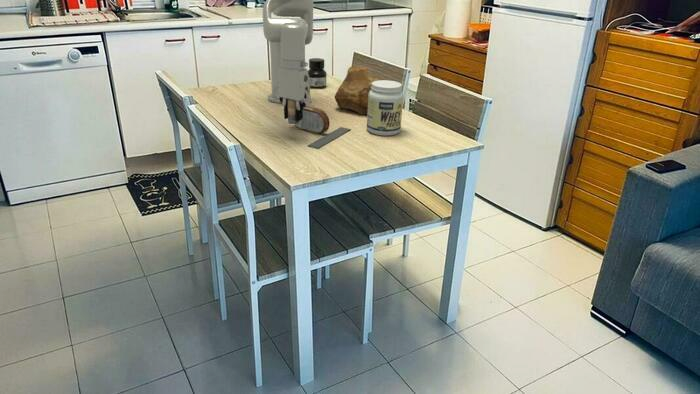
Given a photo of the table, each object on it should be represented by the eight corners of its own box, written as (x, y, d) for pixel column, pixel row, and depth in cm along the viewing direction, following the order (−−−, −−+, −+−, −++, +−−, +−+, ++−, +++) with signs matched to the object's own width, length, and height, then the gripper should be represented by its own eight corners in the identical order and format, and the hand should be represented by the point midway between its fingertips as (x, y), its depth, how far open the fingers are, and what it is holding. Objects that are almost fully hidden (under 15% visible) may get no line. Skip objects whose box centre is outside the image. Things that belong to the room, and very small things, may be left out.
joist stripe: (340, 128, 189) (340, 127, 189) (350, 130, 188) (350, 129, 188) (307, 146, 172) (307, 145, 172) (318, 148, 170) (318, 147, 170)
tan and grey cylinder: (291, 119, 179) (291, 96, 175) (300, 121, 178) (300, 98, 174) (285, 122, 176) (285, 99, 172) (294, 124, 175) (294, 101, 171)
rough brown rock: (325, 104, 218) (323, 68, 210) (361, 97, 224) (361, 62, 216) (349, 123, 200) (348, 84, 192) (388, 115, 205) (388, 77, 198)
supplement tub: (377, 138, 181) (380, 89, 174) (360, 127, 191) (362, 80, 183) (407, 134, 186) (411, 86, 179) (389, 123, 196) (392, 78, 189)
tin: (329, 134, 183) (330, 110, 180) (324, 136, 181) (324, 113, 177) (296, 125, 191) (296, 102, 187) (290, 127, 188) (290, 104, 185)
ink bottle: (307, 89, 235) (307, 62, 230) (304, 84, 243) (304, 57, 237) (328, 88, 237) (329, 61, 232) (325, 83, 245) (325, 57, 239)
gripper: (321, 65, 167) (320, 120, 176) (278, 57, 174) (279, 111, 183) (309, 70, 161) (308, 127, 170) (264, 62, 168) (266, 117, 177)
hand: (293, 118), depth 176 cm, fingers closed on tan and grey cylinder, 3 cm apart
